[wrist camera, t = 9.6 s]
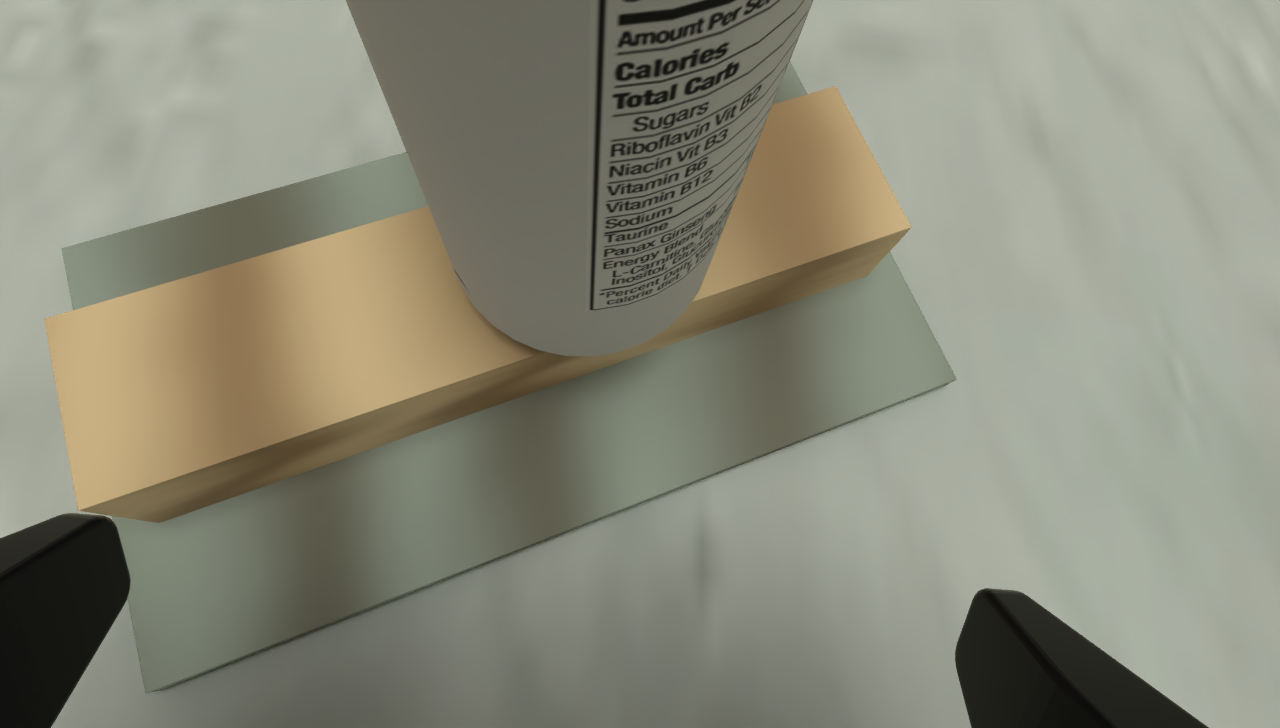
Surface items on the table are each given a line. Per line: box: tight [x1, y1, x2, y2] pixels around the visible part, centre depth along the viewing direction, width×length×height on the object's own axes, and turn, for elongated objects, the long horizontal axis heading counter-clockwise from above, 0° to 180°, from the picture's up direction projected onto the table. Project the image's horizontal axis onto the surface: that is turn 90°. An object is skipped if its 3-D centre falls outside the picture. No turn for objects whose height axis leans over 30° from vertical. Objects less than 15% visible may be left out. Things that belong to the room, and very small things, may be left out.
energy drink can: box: [346, 0, 813, 356], centre depth 10 cm, size 6×6×15 cm
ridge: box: [44, 61, 956, 693], centre depth 19 cm, size 22×12×4 cm, turn 111°
